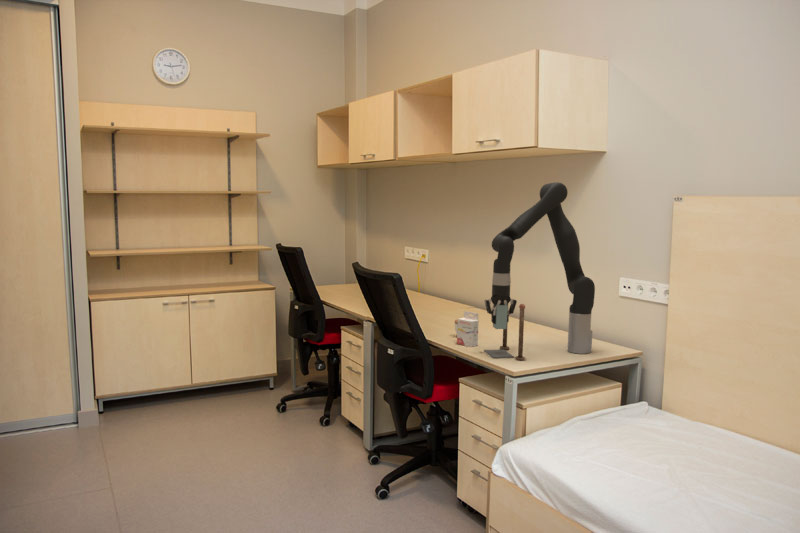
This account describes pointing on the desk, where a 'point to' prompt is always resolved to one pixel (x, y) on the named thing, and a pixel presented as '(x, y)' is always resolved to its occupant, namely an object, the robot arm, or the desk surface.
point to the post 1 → (504, 340)
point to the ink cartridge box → (468, 330)
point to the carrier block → (501, 317)
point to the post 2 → (521, 334)
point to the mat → (498, 354)
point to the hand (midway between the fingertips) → (499, 323)
